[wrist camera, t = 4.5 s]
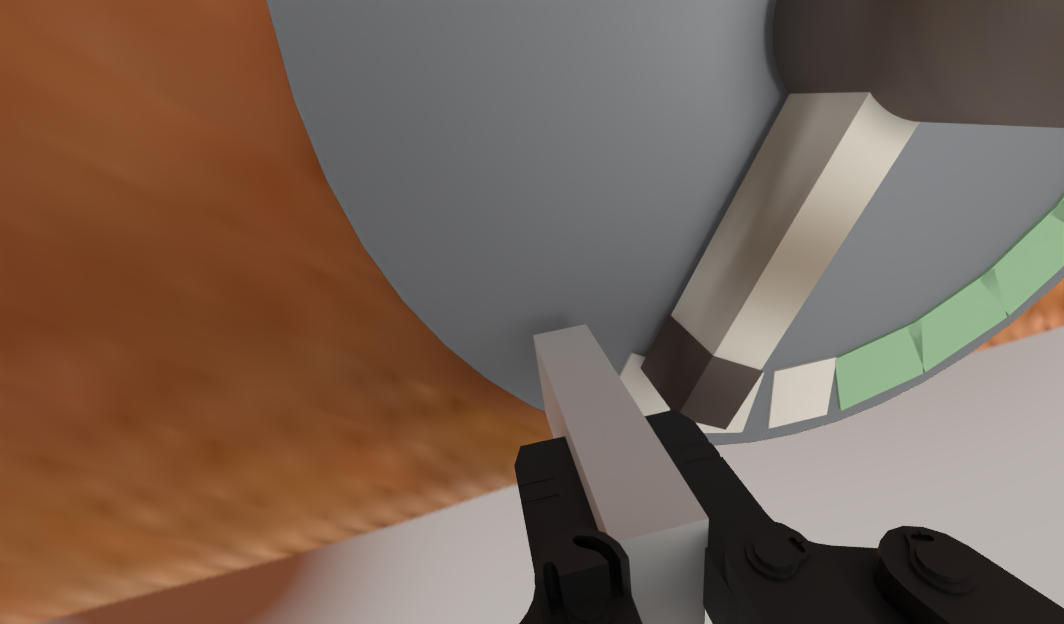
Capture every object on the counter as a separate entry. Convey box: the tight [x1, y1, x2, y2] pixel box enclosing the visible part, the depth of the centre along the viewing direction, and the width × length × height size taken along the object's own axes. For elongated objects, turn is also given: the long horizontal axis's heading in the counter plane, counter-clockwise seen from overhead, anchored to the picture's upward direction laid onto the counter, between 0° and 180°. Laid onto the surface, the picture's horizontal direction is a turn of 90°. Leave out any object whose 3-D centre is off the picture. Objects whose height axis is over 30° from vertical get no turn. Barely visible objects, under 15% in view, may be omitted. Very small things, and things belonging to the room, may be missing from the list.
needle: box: [640, 0, 1064, 430], centre depth 11 cm, size 14×5×5 cm, turn 158°
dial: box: [267, 0, 1064, 446], centre depth 12 cm, size 28×28×1 cm
